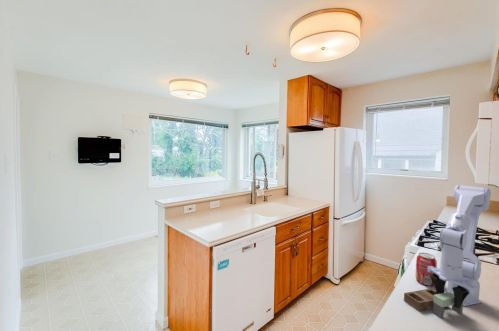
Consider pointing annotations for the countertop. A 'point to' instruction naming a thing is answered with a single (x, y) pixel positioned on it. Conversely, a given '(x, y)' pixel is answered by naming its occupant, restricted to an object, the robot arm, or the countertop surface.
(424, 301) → the post base
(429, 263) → the soda can
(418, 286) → the countertop surface
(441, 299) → the green toy bench
